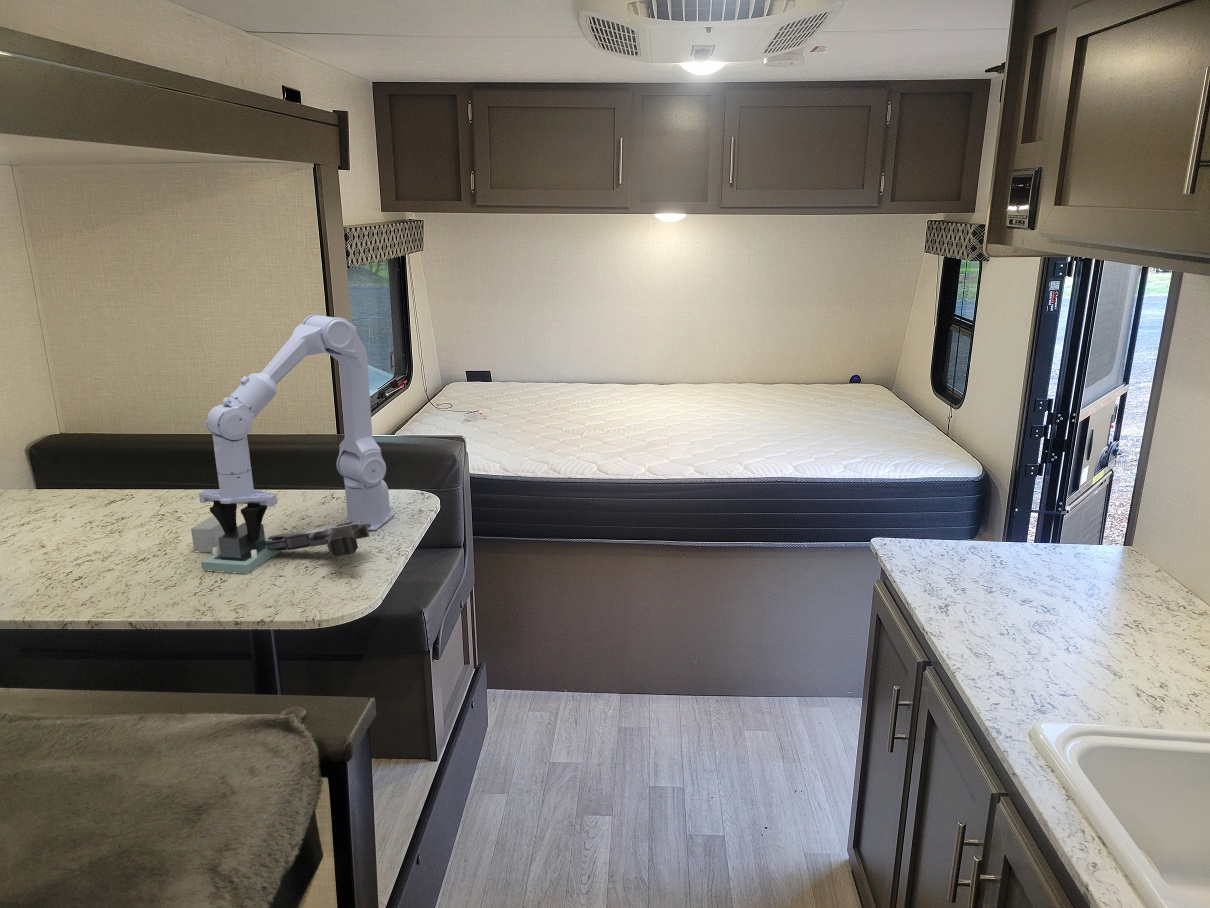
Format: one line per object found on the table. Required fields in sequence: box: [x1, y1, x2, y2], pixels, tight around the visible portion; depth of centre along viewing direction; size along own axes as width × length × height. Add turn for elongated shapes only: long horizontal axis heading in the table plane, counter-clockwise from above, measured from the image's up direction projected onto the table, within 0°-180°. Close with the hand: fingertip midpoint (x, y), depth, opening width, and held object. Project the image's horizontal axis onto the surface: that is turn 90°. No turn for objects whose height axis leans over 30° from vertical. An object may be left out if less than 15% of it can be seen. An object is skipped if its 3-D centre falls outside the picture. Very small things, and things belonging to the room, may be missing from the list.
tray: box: [201, 537, 282, 575], centre depth 158 cm, size 13×9×3 cm
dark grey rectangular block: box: [218, 522, 266, 561], centre depth 157 cm, size 8×4×5 cm, turn 170°
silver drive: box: [190, 514, 225, 553], centre depth 165 cm, size 8×4×5 cm, turn 172°
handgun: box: [266, 520, 371, 558], centre depth 155 cm, size 3×21×12 cm
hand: (243, 539), depth 157 cm, fingers closed on dark grey rectangular block, 4 cm apart
